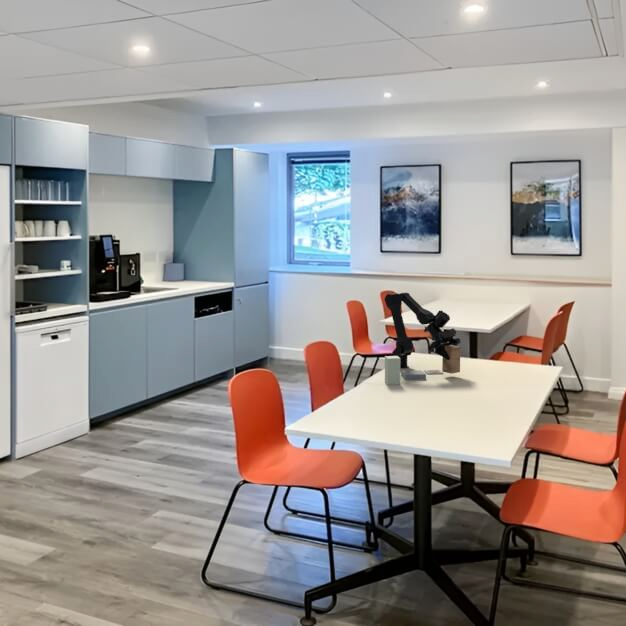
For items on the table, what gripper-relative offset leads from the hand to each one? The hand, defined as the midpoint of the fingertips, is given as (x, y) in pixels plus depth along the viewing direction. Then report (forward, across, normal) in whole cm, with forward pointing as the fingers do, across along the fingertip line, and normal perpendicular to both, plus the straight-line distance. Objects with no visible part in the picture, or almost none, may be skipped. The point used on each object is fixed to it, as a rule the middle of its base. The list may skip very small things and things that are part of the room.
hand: (453, 358), depth 363 cm
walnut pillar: (+4, 0, +6) cm, 7 cm away
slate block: (-2, -15, +16) cm, 22 cm away
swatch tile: (-3, +1, +16) cm, 17 cm away
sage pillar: (0, -32, +13) cm, 35 cm away
